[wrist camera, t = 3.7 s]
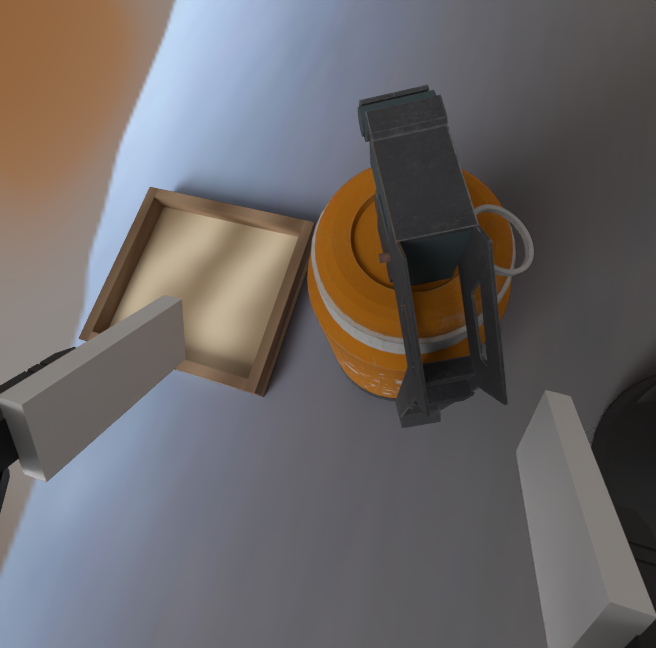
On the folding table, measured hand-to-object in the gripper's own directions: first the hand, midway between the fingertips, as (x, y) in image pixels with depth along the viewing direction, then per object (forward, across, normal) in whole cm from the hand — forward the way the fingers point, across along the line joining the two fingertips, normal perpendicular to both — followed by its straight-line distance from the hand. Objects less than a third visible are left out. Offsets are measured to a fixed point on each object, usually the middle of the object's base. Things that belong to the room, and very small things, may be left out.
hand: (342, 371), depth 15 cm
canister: (+14, +2, -7) cm, 16 cm away
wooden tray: (+15, -14, -6) cm, 22 cm away
